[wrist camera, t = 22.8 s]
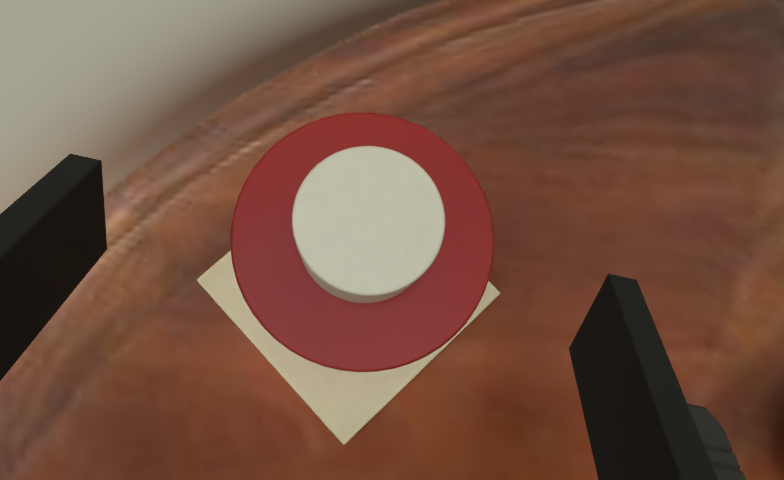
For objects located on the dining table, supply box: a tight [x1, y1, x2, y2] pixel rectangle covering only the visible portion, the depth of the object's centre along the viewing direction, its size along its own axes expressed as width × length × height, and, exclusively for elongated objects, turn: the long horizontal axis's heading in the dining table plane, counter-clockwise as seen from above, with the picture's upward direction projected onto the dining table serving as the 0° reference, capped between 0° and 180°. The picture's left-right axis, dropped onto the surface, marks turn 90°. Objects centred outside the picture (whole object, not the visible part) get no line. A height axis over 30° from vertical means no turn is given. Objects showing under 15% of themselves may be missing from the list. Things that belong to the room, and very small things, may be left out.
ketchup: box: [230, 113, 494, 372], centre depth 19 cm, size 6×6×14 cm
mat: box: [197, 251, 500, 445], centre depth 26 cm, size 9×9×1 cm
